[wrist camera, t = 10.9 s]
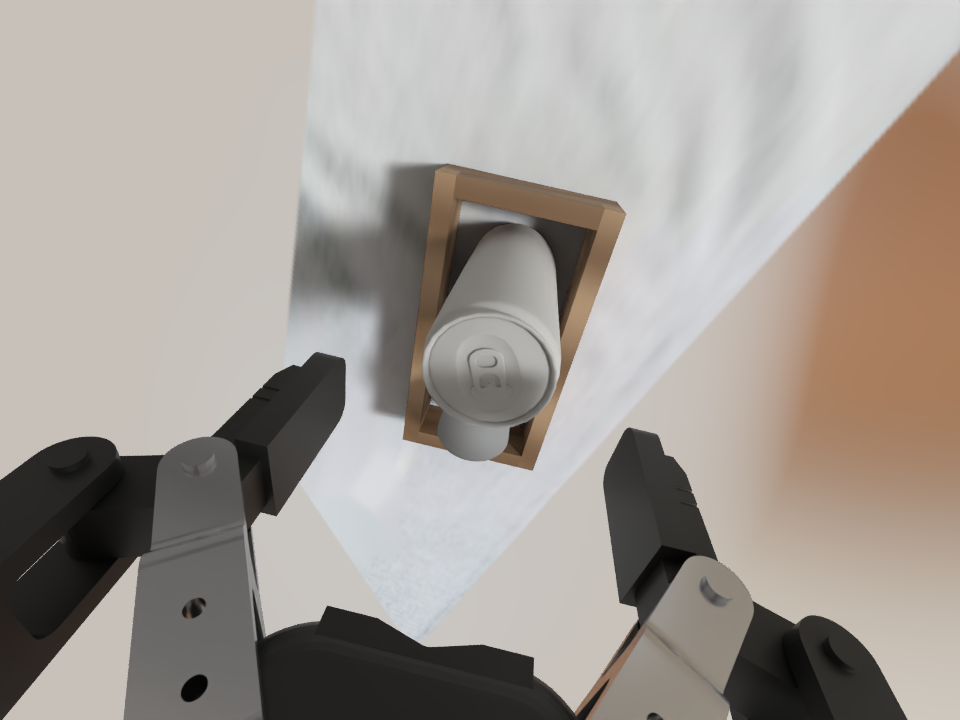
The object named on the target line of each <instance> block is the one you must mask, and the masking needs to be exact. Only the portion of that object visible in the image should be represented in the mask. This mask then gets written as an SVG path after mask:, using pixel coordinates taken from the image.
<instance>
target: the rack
mask: <svg viewBox="0 0 960 720" xmlns="http://www.w3.org/2000/svg"><path fill="white" fill-rule="evenodd" d="M462 200H466V201H470V202H474V203H479V204H483V205H487V206H492V207H496V208H500V209H505V210H509V211H514V212H518V213H522V214H527V215H531V216H535V217H540V218H544V219H549V220H553V221H557V222H562V223H566V224H570V225H575V226H579V227H584V228H588V230H587V233H586V236H585V239H584V242H583V246H582V249H581V252H580V255H579V258H578V261H577V264H576V267H575V270H574V273H573V277H572V280H571V283H570V286H569V289H568V292H567V295H566V298H565V301H564V304H563V307H562V311H561V314H560V317H559V330H560V346H561V366H560V375H559V378H558V381H557V385H556V389H555V391H554V394H553V396H552V398H551V401H550V402H549V403H548V404H547V405H546V407H545V408H544V409H543V410H542V411H541V412H540V413H539V414H538V415H536V416H535V417H533V418H532V419H530V420H529V421H527V422H525V425H524V427H520V426H514V427H510V429H509V438H508V443H507V446H506V448H505V449H504V451H503V452H502V453H501V454H499V455H498V456H496V457H495V458H492V459H490V460H491V461H495V462H499V463H503V464H507V465H511V466H515V467H520V468H524V469H528V470H532V471H533V468H534V465H535V463H536V460H537V457H538V454H539V452H540V449H541V446H542V443H543V441H544V438H545V435H546V432H547V430H548V427H549V424H550V421H551V419H552V416H553V413H554V410H555V408H556V405H557V402H558V400H559V397H560V394H561V391H562V389H563V386H564V383H565V380H566V378H567V375H568V372H569V369H570V367H571V364H572V361H573V358H574V356H575V353H576V350H577V347H578V345H579V342H580V339H581V337H582V334H583V331H584V328H585V326H586V323H587V320H588V317H589V315H590V312H591V309H592V306H593V304H594V301H595V298H596V295H597V293H598V290H599V287H600V284H601V282H602V279H603V276H604V274H605V271H606V268H607V265H608V263H609V260H610V257H611V254H612V252H613V249H614V246H615V243H616V241H617V238H618V235H619V232H620V230H621V227H622V224H623V221H624V219H625V216H626V213H625V212H624V210H623V209H622V208H621V207H620V205H619V204H618V203H617V202H615V201H610V200H606V199H601V198H597V197H593V196H588V195H584V194H579V193H575V192H571V191H566V190H562V189H557V188H553V187H548V186H544V185H540V184H535V183H531V182H526V181H522V180H518V179H513V178H509V177H504V176H500V175H496V174H491V173H487V172H482V171H478V170H474V169H469V168H465V167H460V166H456V165H452V164H447V165H445V166H443V167H441V168H439V169H437V170H435V177H434V186H433V194H432V202H431V211H430V219H429V227H428V236H427V244H426V252H425V260H424V269H423V277H422V285H421V294H420V302H419V310H418V318H417V327H416V335H415V343H414V352H413V360H412V368H411V376H410V385H409V393H408V401H407V410H406V418H405V426H404V434H403V439H404V440H408V441H412V442H416V443H420V444H424V445H428V446H433V447H437V448H441V449H445V450H447V449H446V448H445V447H444V446H443V445H442V443H441V441H440V439H439V437H438V431H437V429H438V423H439V420H440V418H441V415H442V412H443V409H442V408H440V407H437V406H432V405H430V400H431V395H430V394H429V392H428V390H427V388H426V385H425V383H424V380H423V375H422V365H421V364H422V359H423V351H424V346H425V341H426V337H427V335H428V333H429V331H430V329H431V327H432V325H433V323H434V322H435V320H436V318H437V316H438V314H439V312H440V310H441V309H442V307H443V305H444V303H445V301H446V298H447V292H448V286H449V279H450V273H451V267H452V260H453V254H454V248H455V241H456V235H457V229H458V222H459V216H460V210H461V203H462Z"/></svg>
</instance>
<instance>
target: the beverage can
mask: <svg viewBox="0 0 960 720" xmlns="http://www.w3.org/2000/svg"><path fill="white" fill-rule="evenodd" d="M421 365H422V375H423V380H424V383H425V385H426V388H427V390H428V392H429V394H430V395H431V397H432V398H433V399H434V401H435V402H436V404H437V405H438V406H439V407H440V408H442V409H443V410H444V411H445V412H446V413H448V414H449V415H450V416H452V417H454V418H456V419H457V420H459V421H461V422H463V423H466V424H469V425H473V426H476V427H480V428H490V429H500V428H508V427H514V426H516V425H519V424H522V423H525V422H527V421H529V420H530V419H532V418H533V417H535V416H536V415H538V414H539V413H540V412H541V411H542V410H543V409H544V408H545V407H546V405H547V404H548V403H549V402H550V401H551V398H552V396H553V394H554V391H555V389H556V385H557V381H558V378H559V375H560V366H561V346H560V330H559V315H558V300H557V284H556V267H555V260H554V256H553V253H552V251H551V249H550V247H549V245H548V244H547V242H546V241H545V240H544V238H543V237H542V236H541V235H540V234H539V233H538V232H536V231H535V230H534V229H532V228H531V227H528V226H524V225H521V224H505V225H501V226H497V227H495V228H494V229H492V230H490V231H489V232H487V233H486V234H485V235H484V237H483V238H482V239H481V240H480V241H479V243H478V245H477V246H476V248H475V250H474V252H473V253H472V255H471V257H470V258H469V260H468V262H467V264H466V265H465V267H464V269H463V270H462V272H461V274H460V276H459V278H458V279H457V281H456V283H455V285H454V287H453V288H452V290H451V292H450V294H449V296H448V297H447V299H446V301H445V303H444V305H443V307H442V309H441V310H440V312H439V314H438V316H437V318H436V320H435V322H434V323H433V325H432V327H431V329H430V331H429V333H428V335H427V337H426V341H425V346H424V351H423V359H422V364H421Z"/></svg>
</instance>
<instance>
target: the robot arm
mask: <svg viewBox="0 0 960 720" xmlns="http://www.w3.org/2000/svg"><path fill="white" fill-rule="evenodd" d="M345 375H346V364H345V360H344V359H343V358H340V357H336V356H332V355H327V354H323V353H319V352H316V353H314V354H313V355H312V356H311V357H310V358H309V359H308V360H307V361H306V362H305V363H304V365H303V366H302V367H299V366H295V365H292V366H290V367H288V368H286V369H284V370H282V371H280V372H278V373H276V374H275V375H273V376H272V377H271V378H270V379H269V380H268V381H267V382H266V383H265V384H264V385H263V388H260V389H259V390H258V391H257V392H256V393H255V394H254V395H253V398H250V399H249V400H248V401H247V402H246V403H245V404H244V405H243V406H242V407H241V408H240V409H239V410H238V411H237V412H236V413H235V414H234V415H233V416H232V417H231V418H230V419H229V420H228V421H227V422H226V423H225V424H224V425H223V426H222V427H221V428H220V429H219V430H218V431H217V432H216V433H215V434H214V435H212V436H211V437H201V438H196V439H192V440H189V441H186V442H183V443H181V444H179V445H177V446H176V447H174V448H172V449H171V450H170V451H168V452H167V453H166V454H165V455H152V456H119V454H118V451H117V449H116V447H115V445H114V444H113V443H112V442H111V441H109V440H107V439H104V438H100V437H79V438H74V439H69V440H66V441H62V442H59V443H56V444H54V445H52V446H50V447H47V448H45V449H43V450H42V451H40V452H38V453H37V454H36V455H34V456H33V457H31V458H30V459H28V460H27V461H26V462H24V463H23V464H22V465H20V466H19V467H18V468H16V469H15V470H14V471H12V472H11V473H9V474H8V475H7V476H5V477H4V478H3V479H1V480H0V720H2V719H3V718H4V717H5V716H6V714H7V713H8V712H9V711H10V710H11V709H12V707H13V706H14V705H15V704H16V703H17V701H18V700H19V699H20V698H21V696H22V695H23V694H24V693H25V692H26V690H27V689H28V688H29V687H30V686H31V684H32V683H33V682H34V681H35V680H36V678H37V677H38V676H39V675H40V673H41V672H42V671H43V670H44V669H45V668H46V666H47V665H48V664H49V663H50V662H51V660H52V659H53V658H54V657H55V656H56V654H57V653H58V652H59V651H60V649H61V648H62V647H63V646H64V645H65V644H66V642H67V641H68V640H69V639H70V638H71V636H72V635H73V634H74V633H75V632H76V630H77V629H78V628H79V627H80V626H81V624H82V623H83V622H84V621H85V620H86V618H87V617H88V616H89V614H91V612H92V611H93V610H94V609H95V607H96V606H97V605H98V604H99V603H100V601H101V600H102V599H103V598H104V597H105V595H106V594H107V593H108V592H109V591H110V589H111V588H112V587H113V586H114V585H115V583H116V582H117V581H118V580H119V579H120V577H121V576H122V575H123V574H124V573H125V571H126V570H127V569H128V568H129V567H130V565H131V564H132V563H133V562H134V560H135V559H136V558H137V557H140V556H141V559H140V562H139V568H138V577H137V587H136V597H135V608H134V618H133V628H132V639H131V650H130V660H129V670H128V680H127V690H126V700H125V710H124V720H726V719H727V716H728V712H729V708H730V712H731V715H732V719H733V720H907V718H906V716H905V714H904V712H903V711H902V709H901V707H900V705H899V703H898V701H897V699H896V698H895V696H894V694H893V692H892V690H891V688H890V686H889V685H888V683H887V681H886V679H885V677H884V675H883V673H882V672H881V670H880V668H879V666H878V664H877V663H876V661H875V659H874V658H873V657H872V655H871V654H870V653H869V651H868V650H867V649H866V648H865V647H864V646H863V644H861V642H859V641H858V639H856V638H855V637H854V636H853V635H852V634H851V633H849V632H848V631H847V630H846V629H844V628H843V627H841V626H840V625H838V624H837V623H835V622H833V621H831V620H829V619H826V618H824V617H820V616H813V615H812V616H807V617H805V618H803V619H802V620H801V621H799V622H798V623H797V624H794V623H792V622H790V621H788V620H787V619H785V618H783V617H781V616H779V615H777V614H775V613H773V612H771V611H770V610H768V609H766V608H764V607H762V606H760V605H759V604H757V603H755V602H753V601H752V598H751V596H750V594H749V592H748V590H747V588H746V587H745V585H744V584H743V582H742V581H741V580H740V579H739V578H738V576H736V574H735V573H734V572H732V571H731V570H730V569H729V568H727V567H726V566H725V565H723V564H722V563H720V562H718V560H717V558H716V554H715V552H714V549H713V546H712V544H711V541H710V538H709V535H708V533H707V530H706V527H705V525H704V522H703V519H702V516H701V514H700V511H699V509H698V508H697V503H696V500H695V497H694V494H692V493H691V492H692V489H691V486H690V484H689V481H688V478H687V475H686V473H685V472H684V471H683V469H682V468H681V467H680V466H679V464H678V463H677V462H676V460H675V459H674V458H673V457H670V456H666V455H664V451H663V448H662V445H661V442H660V439H659V437H658V435H657V434H654V433H650V432H646V431H642V430H638V429H633V428H627V429H626V430H625V431H624V433H623V435H622V437H621V439H620V441H619V443H618V445H617V447H616V449H615V451H614V453H613V454H612V456H611V459H610V461H609V462H608V464H607V467H606V470H605V474H604V481H603V485H604V486H603V487H604V494H605V501H606V509H607V515H608V523H609V530H610V536H611V545H612V552H613V559H614V566H615V573H616V580H617V587H618V595H619V601H620V603H622V604H626V605H630V606H634V607H637V611H638V617H639V619H638V620H637V622H636V623H635V624H634V625H633V627H632V629H631V630H630V632H629V633H628V635H627V636H626V638H625V639H624V641H623V642H622V644H621V645H620V647H619V649H618V650H617V651H616V653H615V655H614V656H613V658H612V659H611V661H610V662H609V664H608V665H607V667H606V668H605V670H604V671H603V673H602V674H601V676H600V678H599V679H598V681H597V682H596V684H595V685H594V686H593V688H592V689H591V691H590V692H589V693H588V695H587V696H586V697H585V699H584V700H583V701H582V703H581V704H580V706H579V707H578V708H577V710H576V711H575V713H574V712H573V711H572V710H571V709H570V707H569V706H568V705H567V704H566V703H565V701H564V700H563V699H562V698H561V697H560V696H559V695H558V694H557V693H556V692H555V691H554V690H553V689H552V688H550V687H549V686H548V685H547V684H545V683H544V682H542V681H541V680H540V679H538V678H537V677H535V676H533V668H534V658H533V657H529V656H525V655H521V654H517V653H513V652H509V651H505V650H501V649H497V648H493V647H489V646H486V645H468V646H449V647H426V646H423V645H421V644H419V643H418V642H416V641H415V640H413V639H411V638H410V637H408V636H406V635H405V634H403V633H401V632H400V631H398V630H396V629H395V628H393V627H391V626H390V625H388V624H386V623H385V622H383V621H381V620H380V619H378V618H374V617H370V616H366V615H363V614H359V613H355V612H350V611H347V610H343V609H339V608H335V607H331V606H327V607H326V609H325V612H324V614H323V616H322V618H321V620H320V621H318V622H308V623H303V624H297V625H294V626H291V627H288V628H284V629H282V630H280V631H277V632H275V633H273V634H270V635H268V636H267V637H266V634H265V627H264V621H263V614H262V608H261V601H260V593H259V585H258V576H257V569H256V559H255V551H254V543H253V535H252V527H251V525H252V524H253V522H254V521H255V519H256V518H257V516H258V515H259V514H260V512H262V513H266V514H270V515H274V516H277V515H278V513H279V512H280V510H281V509H282V507H283V506H284V504H285V503H286V501H287V500H288V498H289V497H290V495H291V494H292V492H293V490H294V489H295V487H296V486H297V484H298V483H299V481H300V480H301V478H302V477H303V475H304V474H305V472H306V471H307V469H308V468H309V466H310V465H311V463H312V462H313V460H314V459H315V457H316V456H317V454H318V453H319V451H320V450H321V448H322V447H323V445H324V444H325V442H326V441H327V439H328V438H329V436H330V435H331V433H332V432H333V430H334V428H335V427H336V425H337V424H338V422H339V421H340V419H341V416H342V414H343V410H344V406H345ZM58 540H59V541H58ZM57 541H58V542H57ZM56 542H57V543H56ZM55 543H56V544H55ZM54 544H55V545H54ZM53 545H54V546H53ZM52 546H53V547H52ZM50 547H52V548H51V549H50ZM49 549H50V550H49ZM47 550H49V551H48V552H47V553H46V554H45V555H43V554H44V553H45V552H46V551H47ZM42 555H43V557H42V558H40V557H41V556H42ZM39 558H40V559H39ZM38 559H39V560H38ZM37 560H38V561H37ZM36 561H37V562H36ZM35 562H36V563H35ZM34 563H35V564H34ZM33 564H34V565H33ZM32 565H33V566H32ZM31 566H32V567H31ZM30 567H31V568H30ZM29 568H30V569H29ZM28 569H29V570H28ZM26 570H28V571H27V572H26ZM25 572H26V573H25ZM24 573H25V574H24ZM22 574H24V575H23V576H22V577H21V575H22ZM20 577H21V578H20ZM19 578H20V579H19ZM18 579H19V580H18ZM17 580H18V581H17Z"/></svg>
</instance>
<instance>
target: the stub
mask: <svg viewBox="0 0 960 720" xmlns="http://www.w3.org/2000/svg"><path fill="white" fill-rule="evenodd" d="M509 429H510V427H508V428H500V429H490V428H480V427H476V426H473V425H469V424H466V423H463V422H461V421H459V420H457V419H456V418H454V417H452V416H450V415H449V414H448V413H446V412H445V411H444V410H443V412H442V415H441V418H440V420H439V423H438V429H437V431H438V437H439V439H440V441H441V443H442V445H443V446H444V447H445V448H446V449H447V450H448V451H449V452H450V453H452V454H453V455H455V456H457V457H459V458H462V459H465V460H469V461H486V460H490V459H492V458H495V457H496V456H498V455H499V454H501V453H502V452H503V451H504V449H505V448H506V446H507V443H508V438H509Z"/></svg>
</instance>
